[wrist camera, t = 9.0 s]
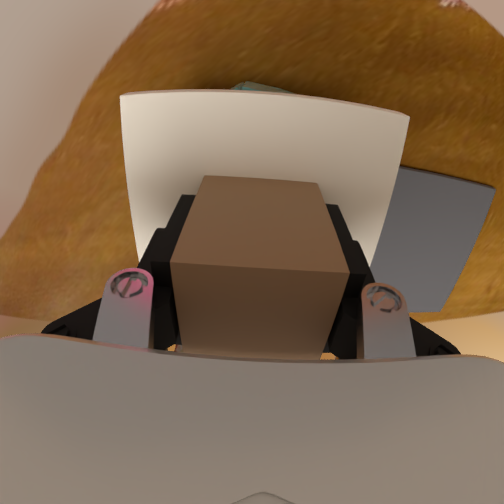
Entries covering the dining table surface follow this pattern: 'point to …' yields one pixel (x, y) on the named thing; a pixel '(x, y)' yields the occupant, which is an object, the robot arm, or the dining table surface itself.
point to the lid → (258, 208)
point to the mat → (429, 235)
